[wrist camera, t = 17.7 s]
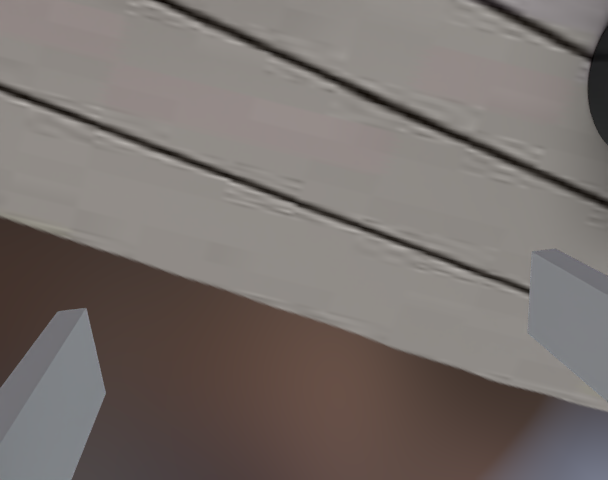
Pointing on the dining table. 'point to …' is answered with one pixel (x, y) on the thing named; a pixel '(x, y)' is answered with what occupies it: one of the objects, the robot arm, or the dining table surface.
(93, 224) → the dining table surface
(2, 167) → the dining table surface
